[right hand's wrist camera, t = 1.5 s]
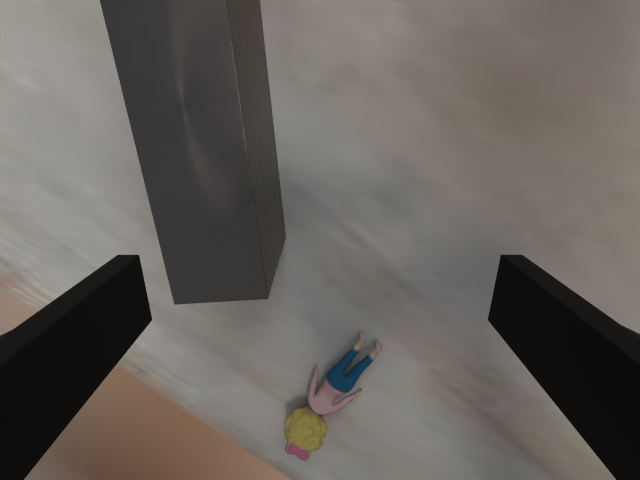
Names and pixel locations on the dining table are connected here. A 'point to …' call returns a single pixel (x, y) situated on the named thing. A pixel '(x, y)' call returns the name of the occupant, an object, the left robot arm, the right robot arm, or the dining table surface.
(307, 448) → the figurine
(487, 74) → the dining table surface
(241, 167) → the box
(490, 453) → the dining table surface
